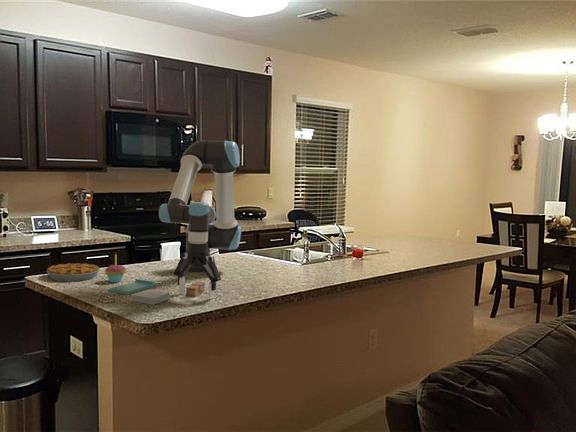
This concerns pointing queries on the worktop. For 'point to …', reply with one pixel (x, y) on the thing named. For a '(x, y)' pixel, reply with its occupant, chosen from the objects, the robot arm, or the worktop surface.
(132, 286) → the rest
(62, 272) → the pie
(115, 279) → the cupcake
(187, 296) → the turner
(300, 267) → the worktop surface
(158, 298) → the tile
